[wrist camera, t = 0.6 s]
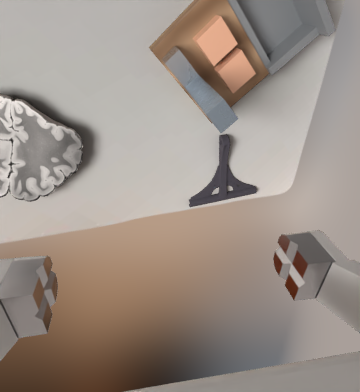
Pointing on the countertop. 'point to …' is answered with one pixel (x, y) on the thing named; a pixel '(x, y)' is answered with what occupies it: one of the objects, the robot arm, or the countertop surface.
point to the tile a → (215, 40)
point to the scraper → (200, 90)
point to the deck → (182, 38)
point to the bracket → (222, 180)
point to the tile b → (234, 70)
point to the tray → (282, 27)
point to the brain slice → (34, 151)
